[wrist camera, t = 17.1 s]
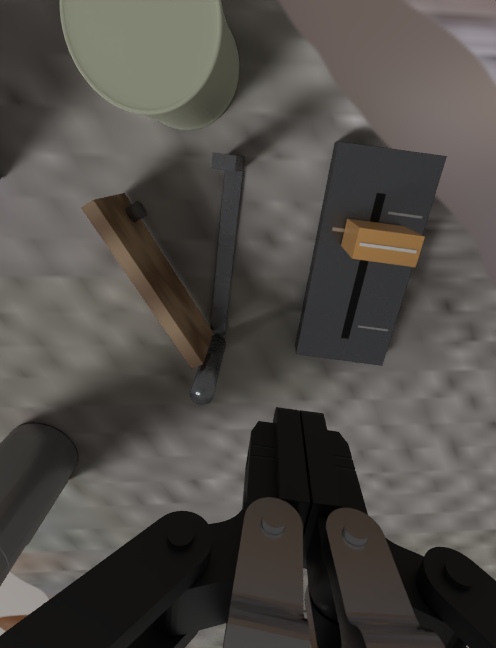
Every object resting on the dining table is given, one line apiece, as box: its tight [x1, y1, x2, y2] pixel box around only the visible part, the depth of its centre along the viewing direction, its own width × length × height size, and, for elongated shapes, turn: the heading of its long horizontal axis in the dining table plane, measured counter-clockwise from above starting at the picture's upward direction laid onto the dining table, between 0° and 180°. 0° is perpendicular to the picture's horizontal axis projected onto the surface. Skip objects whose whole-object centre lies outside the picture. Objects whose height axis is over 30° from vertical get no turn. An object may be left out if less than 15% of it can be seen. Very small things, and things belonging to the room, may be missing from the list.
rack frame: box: [190, 153, 244, 405], centre depth 33 cm, size 20×2×10 cm, turn 173°
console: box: [295, 142, 446, 366], centre depth 36 cm, size 20×9×2 cm, turn 173°
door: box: [82, 193, 213, 369], centre depth 34 cm, size 16×2×7 cm, turn 29°
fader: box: [341, 219, 425, 267], centre depth 31 cm, size 2×5×5 cm, turn 83°
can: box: [60, 0, 239, 130], centre depth 26 cm, size 9×9×12 cm
